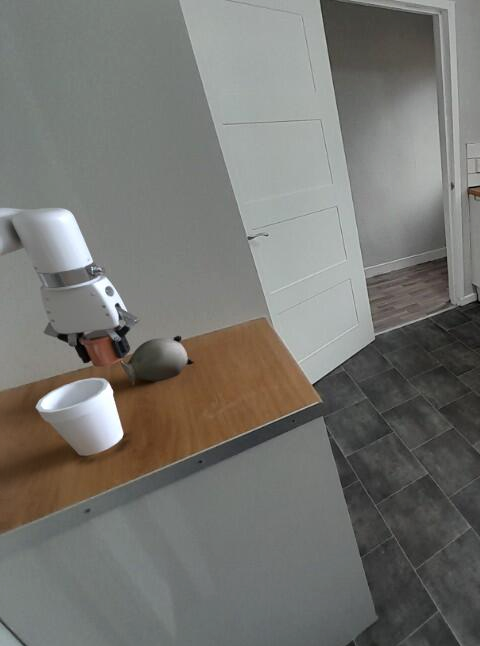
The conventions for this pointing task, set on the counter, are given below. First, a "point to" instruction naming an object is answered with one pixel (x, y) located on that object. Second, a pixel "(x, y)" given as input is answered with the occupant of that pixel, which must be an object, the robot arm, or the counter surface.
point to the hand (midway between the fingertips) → (107, 356)
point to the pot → (99, 348)
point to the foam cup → (83, 415)
